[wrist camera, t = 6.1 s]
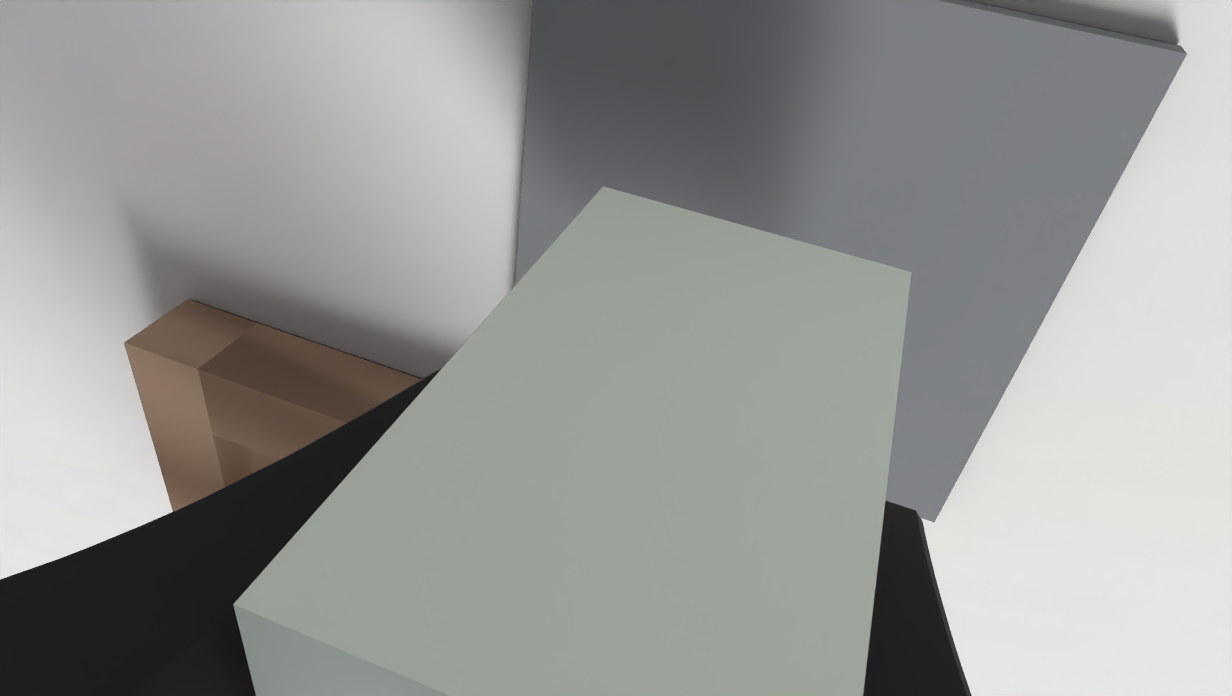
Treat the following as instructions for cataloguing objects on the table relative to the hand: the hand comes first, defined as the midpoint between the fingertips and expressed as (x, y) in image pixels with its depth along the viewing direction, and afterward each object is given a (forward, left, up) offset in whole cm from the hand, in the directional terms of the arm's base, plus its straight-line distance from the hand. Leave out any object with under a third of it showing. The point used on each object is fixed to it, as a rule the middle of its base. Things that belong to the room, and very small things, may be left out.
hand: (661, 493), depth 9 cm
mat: (0, 0, -6) cm, 6 cm away
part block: (0, 0, -3) cm, 3 cm away
